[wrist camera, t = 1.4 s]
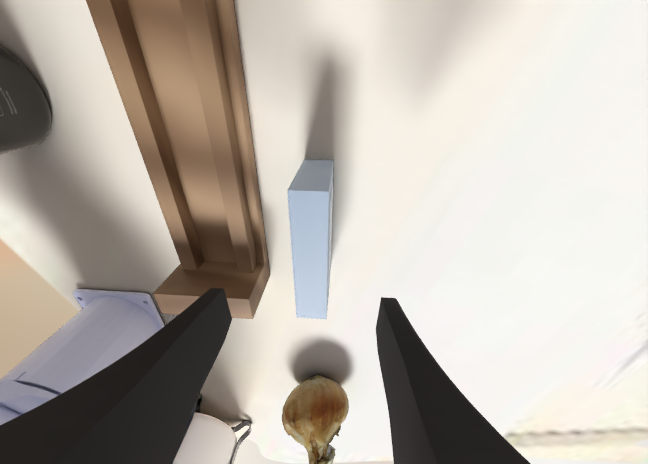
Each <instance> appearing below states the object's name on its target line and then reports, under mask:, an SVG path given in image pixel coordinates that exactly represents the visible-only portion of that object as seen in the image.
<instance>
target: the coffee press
mask: <svg viewBox="0 0 648 464" xmlns="http://www.w3.org/2000/svg"><path fill="white" fill-rule="evenodd" d="M201 401H202V395H200V394H199V395H198V397H197V399H196V401H195V404H194V406H193V409H192V412H191V414H190V417H189V419H188V422H187V425H186V427H185V430H184V433H183V436H182V438H181V441H180V444H179V447H178V449H177V452H176V455H175V458H174V461H173V464H233V463H234V460H235V456H236V453H237V450H238V447H239V445H240V444H241V442H242V441H243V440H244V439H245V438H246V437H247V436H248V435H249V434H250V432H251V424H250V422H249V421H248V420H245V421H243V422H242V423H240V424H239V425H238V426H236V427H230V426H229V425H227V424H226V423H224V422H223V421H221V420H219V419H217V418H215V417H212V416H209V415H206V414H202V413H200V406H201ZM245 425H248V426H250V427H249V429H248V430H247V431H246V432H245V433H244V434H243V435H242V436H241V438H240V439H239V440H238V442H237V438H236V435H235V433H234V432H236V431H238V430H240V429H241V428H242V427H244V426H245Z"/></svg>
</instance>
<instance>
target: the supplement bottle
mask: <svg viewBox="0 0 648 464" xmlns="http://www.w3.org/2000/svg"><path fill="white" fill-rule="evenodd" d="M50 127H51V113H50V108H49V105H48V102H47V99H46V97H45V95H44V93H43V91H42V89H41V87H40V86H39V84H38V83H37V81H36V80H35V78H34V77H33V76H32V74H31V73H30V72H29V71H28V70H27V68H26V67H25V66H24V65H23V64H22V63H21V62H20V61H19V60H18V59H17V58H16V57H15V56H13V55H12V54H11V53H10V52H9V51H7V50H6V49H5V48H3V47H2V46H1V45H0V154H2V153H7V152H12V151H16V150H20V149H25V148H29V147H32V146H35V145H37V144H39V143H41V142H42V141H43V140H44V139H45V138H46V137H47V135H48V133H49V131H50Z"/></svg>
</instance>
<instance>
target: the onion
mask: <svg viewBox="0 0 648 464" xmlns="http://www.w3.org/2000/svg"><path fill="white" fill-rule="evenodd" d="M348 408H349V404H348V398H347V395H346V393H345V391H344V390H343V388H342V387H341V386H340V385H339V384H338V383H336V382H335V381H333V380H331V379H328V378H323V377H322V376H318V375H316V376H314V377H310V378H308V379H306V380H305V381H303V382H302V383H301V384H300V385H298V386H297V387H296V388H295V389H294V390H293V391H292V392H291V394H290V395H289V396H288V398H287V400H286V402H285V405H284V406H283V414H282V422H283V425H284V428H285V431H286V432H287V434H288V435H291V436H292V437H293V438H294V439H295V440H296V441H297V442H298V443H300V444H301V445H303V446H304V447H305V448H306V450H307V452H308V457H309V464H332V463H333V459H334V456H335V449H334V448H333V447H332V446H331V445H329V443H330V442H331V441H332V440H333V437H334V436H335V435H337V436H339V435H338V432H339V430H340V428H341V423H342V422H343V421H344V420H345V418H346V416H347V413H348Z"/></svg>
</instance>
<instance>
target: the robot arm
mask: <svg viewBox="0 0 648 464" xmlns="http://www.w3.org/2000/svg"><path fill="white" fill-rule="evenodd" d="M73 295H74V297H75V298H76V300H77V301H78V302H79V304H80V305H81V307H82V308H83V309H82V310H81V311H80V312H79V313H77V314H76V315H75V316H74V317H73V318H72V319H70V320H69V321H68V322H67V323H66V324H65V325H63V326H62V327H61V328H60V329H59V330H58V331H56V332H55V333H54V334H53V335H52V336H51V337H49V338H48V339H47V340H46V341H45V342H43V343H42V344H41V345H40V346H39V347H38V348H36V349H35V350H34V351H33V352H32V353H31V354H29V355H28V356H27V357H26V358H25V359H23V360H22V361H21V362H20V363H19V364H18V365H17V366H15V367H14V368H13V369H12V370H11V371H9V372H8V373H7V374H6V375H5V376H4V377H3V378H1V379H0V464H173V461H174V458H175V455H176V452H177V449H178V447H179V444H180V441H181V438H182V436H183V433H184V430H185V427H186V425H187V422H188V419H189V417H190V414H191V412H192V409H193V406H194V404H195V401H196V399H197V397H198V395H199V392H200V390H201V388H202V386H203V384H204V382H205V380H206V378H207V376H208V374H209V372H210V370H211V368H212V366H213V364H214V362H215V360H216V357H217V355H218V353H219V351H220V349H221V347H222V345H223V343H224V341H225V338H226V335H227V332H228V330H229V327H230V324H231V320H232V317H231V313H230V309H229V306H228V302H227V298H226V294H225V291H224V288H210V289H209V290H208V291H207V292H205V293H204V294H203V295H202V296H201V297H199V298H198V299H197V300H196V301H195V302H193V303H192V304H191V305H190V306H189V307H188V308H186V309H185V310H184V311H183V312H182V313H180V314H179V315H178V316H177V317H175V318H174V319H173V320H172V321H171V322H169V323H168V324H167V325H164V323H163V321H162V319H161V317H160V315H159V313H158V311H157V309H156V307H155V305H154V302H153V300H152V298H151V296H150V295H149V294H147V293H138V292H121V291H104V290H87V289H76V290H75V291H73ZM376 334H377V347H378V355H379V361H380V366H381V372H382V377H383V382H384V388H385V393H386V399H387V404H388V410H389V417H390V426H391V436H392V446H393V457H394V464H530V463H529V462H528V461H527V460H526V459H525V458H524V457H523V456H522V455H521V454H520V453H519V452H518V451H517V450H516V449H515V448H514V447H513V446H512V445H511V444H509V443H508V442H507V441H506V440H505V439H504V438H503V437H502V436H501V435H500V434H499V433H498V432H497V431H496V429H495V428H494V427H493V426H492V425H491V424H490V423H489V422H488V421H487V420H486V419H485V418H484V417H483V416H482V415H481V414H480V413H479V412H478V411H477V410H476V408H475V407H474V406H473V405H472V404H471V403H470V402H469V401H468V400H467V398H466V397H465V396H464V395H463V394H462V393H461V392H460V390H459V389H458V388H457V387H456V386H455V385H454V383H453V382H452V381H451V380H450V378H449V377H448V376H447V375H446V374H445V372H444V371H443V370H442V368H441V367H440V366H439V364H438V363H437V362H436V360H435V359H434V358H433V356H432V355H431V354H430V352H429V351H428V349H427V348H426V347H425V345H424V344H423V342H422V341H421V339H420V338H419V336H418V335H417V333H416V332H415V330H414V328H413V327H412V325H411V324H410V322H409V320H408V319H407V317H406V315H405V314H404V312H403V310H402V308H401V306H400V305H399V303H398V301H397V300H396V299H395V298H382V297H381V302H380V308H379V314H378V320H377V326H376Z"/></svg>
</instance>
